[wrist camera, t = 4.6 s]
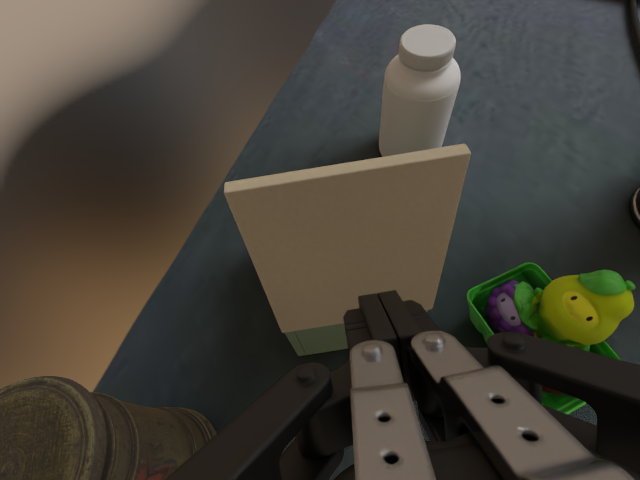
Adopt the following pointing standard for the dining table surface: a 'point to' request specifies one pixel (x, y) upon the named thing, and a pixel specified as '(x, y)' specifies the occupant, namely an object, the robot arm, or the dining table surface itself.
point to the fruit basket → (553, 312)
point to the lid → (350, 231)
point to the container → (91, 434)
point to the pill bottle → (419, 91)
